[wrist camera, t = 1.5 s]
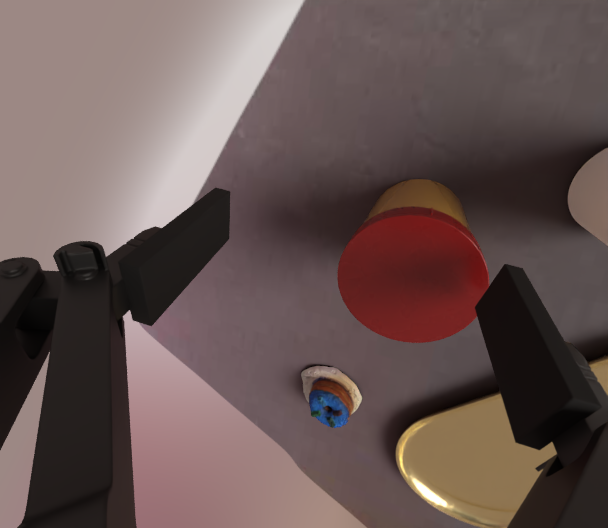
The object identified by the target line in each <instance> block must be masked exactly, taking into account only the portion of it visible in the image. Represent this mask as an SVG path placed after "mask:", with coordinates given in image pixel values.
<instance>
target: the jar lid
mask: <svg viewBox="0 0 608 528" xmlns="http://www.w3.org/2000/svg"><path fill="white" fill-rule="evenodd" d="M338 286H339V290H340V293H341V296H342V298H343V301H344V303H345V304H346V306H347V308H348V309H349V311H350V312H351V313H352V314H353V316H354V317H355V318H356V319H357V320H358V321H360V322H361V323H362V324H363V325H364V326H366V327H367V328H369V329H370V330H372V331H374V332H376V333H377V334H379V335H382V336H384V337H387V338H390V339H393V340H398V341H403V342H412V343H423V342H431V341H436V340H440V339H443V338H446V337H449V336H451V335H453V334H455V333H457V332H459V331H460V330H462V329H464V328H465V327H466V326H467V325H469V324H470V323H471V322H472V321H473V320H474V319H475V318H476V316H477V314H476V310H475V306H476V305H477V303H478V302H479V300H480V299H481V297H482V296H483V295H484V293H485V292H486V290H487V289H488V287H489V273H488V269H487V265H486V262H485V259H484V256H483V254H482V251H481V249H480V246H479V244H478V242H477V241H476V239H475V237H474V236H473V234H472V233H471V232H470V231H469V230H468V229H467V228H466V227H465V226H464V225H463V224H462V223H460V222H459V221H458V220H456V219H455V218H453V217H451V216H450V215H447V214H445V213H443V212H441V211H438V210H434V209H433V207H431V208H425V207H414V206H409V207H399V208H394V209H390V210H387V211H384V212H382V213H380V214H377V215H375V216H374V217H372V218H371V219H369V220H367V221H366V222H365V223H364V224H363V225H362V226H360V228H359V229H358V230H357V231H356V232H355V234H354V235H353V236H352V238H351V240H350V241H349V243H348V244H347V246H346V247H345V249H344V251H343V253H342V255H341V258H340V262H339V266H338Z"/></svg>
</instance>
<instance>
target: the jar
mask: <svg viewBox="0 0 608 528" xmlns="http://www.w3.org/2000/svg"><path fill="white" fill-rule="evenodd" d="M409 206H414V207H425V208H431V207H433V209H434V210H438V211H441V212H443V213H445V214H447V215H450V216H451V217H453V218H455V219H456V220H458V221H459V222H460V223H462V224H463V225H464V226H465V227H466V228H467V229H468V230H469V231H470V232H471V230H470V227H469V224H468V221H467V218H466V215H465V212H464V209H463V207H462V205H461V202H460V201H459V199H458V198H457V196H456V195H455V194H454V193H453V192H452V191H451V190H450V189H449V188H447V187H446V186H444V185H442V184H440V183H438V182H435V181H432V180H426V179H412V180H407V181H403V182H400V183H398V184H396V185H394V186H392V187H391V188H389V189H388V190H386V191H385V192H384V193H383V194H382V195H381V196H380V197H379V199H378V200H377V202H376V203H375V205H374V206H373V208H372V210H371V211H370V213H369V215H368V216H367V218H366V220H365V221H364V223H365V222H366V221H367V220H369V219H371V218H372V217H374V216H375V215H377V214H380V213H382V212H384V211H387V210H390V209H394V208H399V207H409ZM364 223H363V224H364Z"/></svg>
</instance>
